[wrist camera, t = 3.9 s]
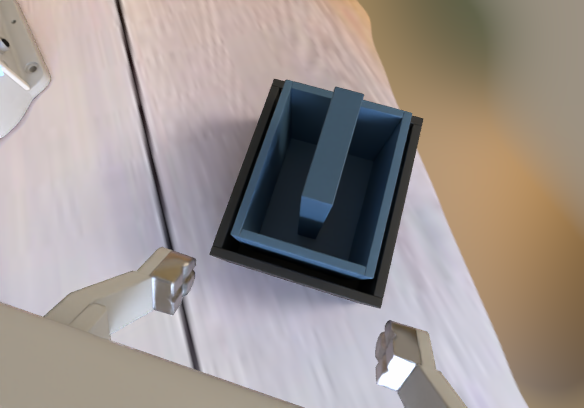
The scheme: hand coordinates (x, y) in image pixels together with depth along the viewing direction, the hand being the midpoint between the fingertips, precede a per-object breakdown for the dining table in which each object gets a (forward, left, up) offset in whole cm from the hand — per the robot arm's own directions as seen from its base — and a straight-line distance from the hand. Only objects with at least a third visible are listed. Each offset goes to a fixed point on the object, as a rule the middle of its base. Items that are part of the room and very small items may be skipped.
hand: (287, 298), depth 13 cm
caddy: (-8, +6, -20) cm, 22 cm away
